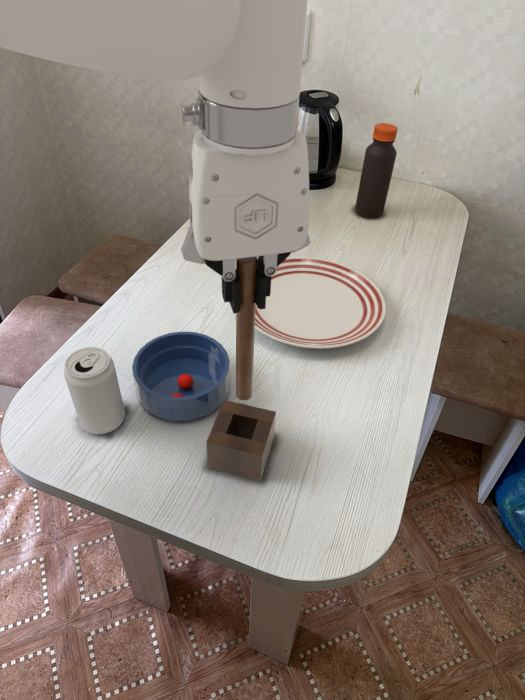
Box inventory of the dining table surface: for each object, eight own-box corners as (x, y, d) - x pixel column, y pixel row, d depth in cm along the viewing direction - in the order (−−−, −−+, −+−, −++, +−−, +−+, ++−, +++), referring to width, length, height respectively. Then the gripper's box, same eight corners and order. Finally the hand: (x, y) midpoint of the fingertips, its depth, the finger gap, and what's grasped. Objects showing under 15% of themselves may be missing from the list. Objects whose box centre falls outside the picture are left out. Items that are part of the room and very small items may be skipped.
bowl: (121, 412, 75) (115, 387, 71) (159, 348, 85) (155, 323, 81) (212, 434, 72) (211, 409, 69) (240, 366, 82) (240, 341, 79)
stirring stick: (233, 398, 62) (233, 260, 48) (238, 387, 63) (239, 249, 49) (249, 402, 61) (253, 264, 47) (254, 390, 63) (259, 253, 49)
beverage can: (71, 428, 72) (50, 370, 64) (98, 397, 76) (81, 339, 68) (109, 443, 71) (93, 385, 62) (134, 410, 75) (122, 352, 67)
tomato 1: (164, 403, 74) (167, 407, 72) (172, 389, 75) (175, 392, 72) (178, 410, 75) (182, 414, 73) (186, 396, 76) (190, 399, 73)
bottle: (350, 213, 121) (365, 128, 107) (361, 202, 125) (377, 119, 111) (376, 222, 118) (395, 135, 105) (387, 210, 123) (406, 126, 109)
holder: (207, 468, 68) (206, 442, 64) (224, 426, 74) (223, 399, 69) (260, 481, 67) (262, 455, 63) (273, 438, 72) (276, 411, 68)
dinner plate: (263, 255, 106) (264, 241, 104) (393, 285, 100) (397, 271, 98) (210, 336, 87) (210, 322, 85) (366, 379, 81) (370, 365, 79)
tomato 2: (177, 371, 76) (173, 381, 78) (182, 384, 75) (179, 394, 76) (191, 369, 77) (188, 379, 79) (197, 382, 76) (193, 391, 78)
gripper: (152, 143, 35) (174, 338, 48) (362, 129, 38) (330, 314, 51) (141, 106, 40) (163, 291, 53) (327, 96, 44) (306, 272, 56)
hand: (245, 301), depth 52 cm, fingers closed on stirring stick, 2 cm apart
